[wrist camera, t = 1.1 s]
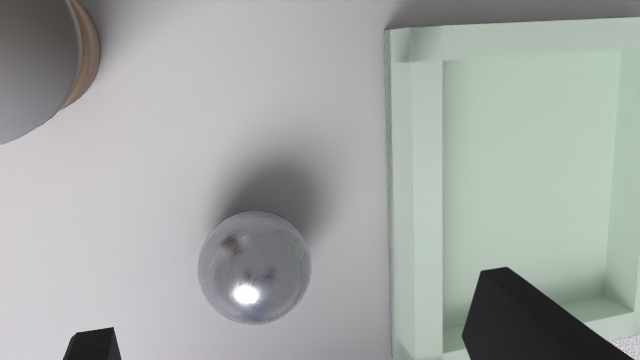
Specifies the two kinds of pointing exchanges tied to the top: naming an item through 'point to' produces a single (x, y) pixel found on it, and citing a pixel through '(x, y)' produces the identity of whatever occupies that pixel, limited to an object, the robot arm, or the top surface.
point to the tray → (512, 172)
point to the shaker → (43, 61)
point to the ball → (254, 267)
